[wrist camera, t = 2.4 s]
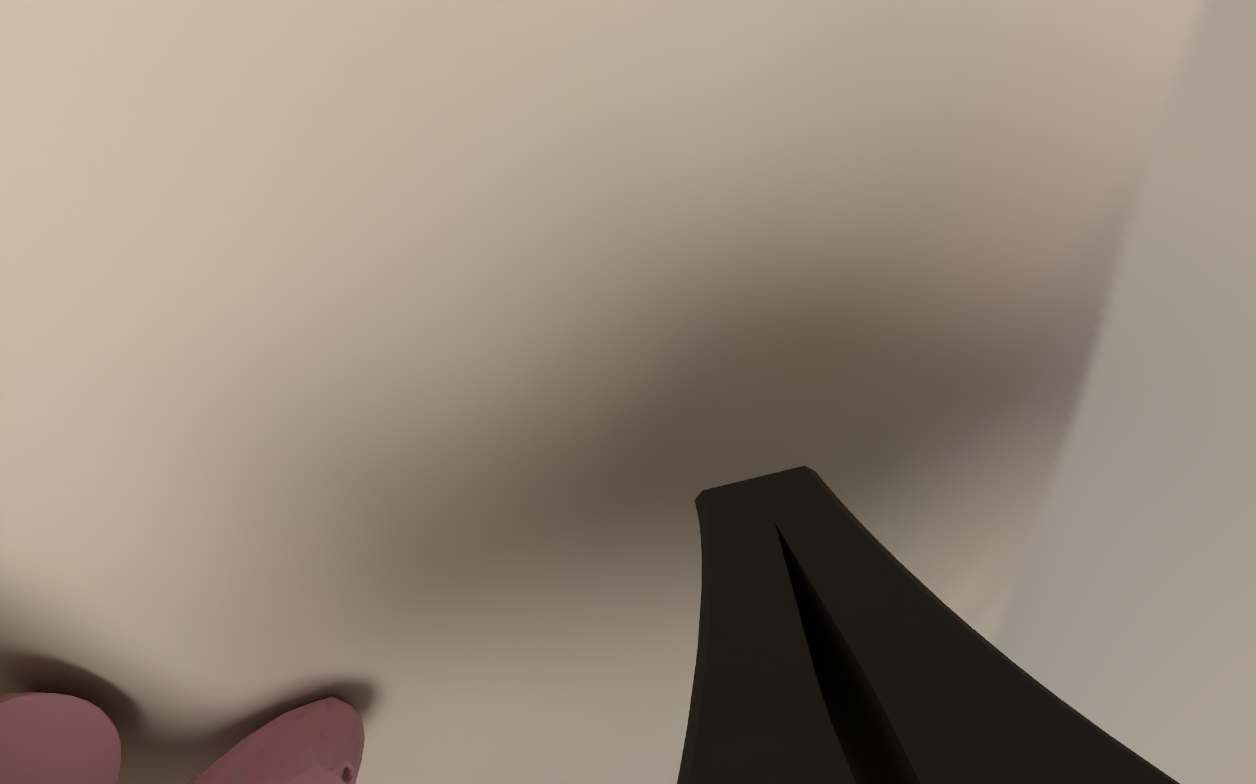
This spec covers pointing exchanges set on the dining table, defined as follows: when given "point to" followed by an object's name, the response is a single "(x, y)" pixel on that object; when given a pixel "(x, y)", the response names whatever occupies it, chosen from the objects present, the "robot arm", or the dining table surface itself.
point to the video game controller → (239, 780)
